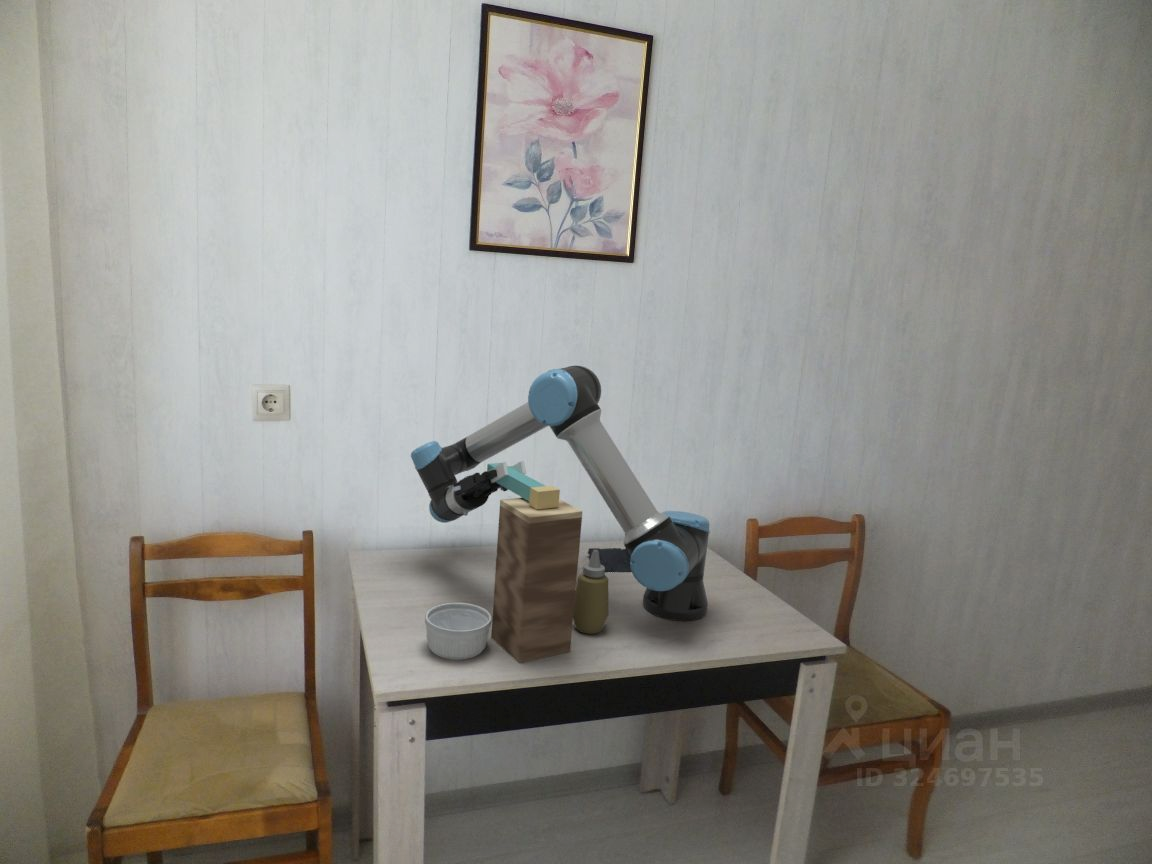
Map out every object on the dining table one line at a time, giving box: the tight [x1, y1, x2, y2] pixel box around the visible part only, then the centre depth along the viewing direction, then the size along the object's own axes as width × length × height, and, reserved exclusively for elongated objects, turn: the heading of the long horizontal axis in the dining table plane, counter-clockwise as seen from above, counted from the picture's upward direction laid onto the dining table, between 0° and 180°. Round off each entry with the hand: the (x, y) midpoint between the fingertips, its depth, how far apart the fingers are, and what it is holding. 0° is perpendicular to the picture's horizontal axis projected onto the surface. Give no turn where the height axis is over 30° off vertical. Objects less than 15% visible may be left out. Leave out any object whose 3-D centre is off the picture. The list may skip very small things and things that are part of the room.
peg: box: [486, 462, 561, 509], centre depth 174 cm, size 23×5×4 cm, turn 33°
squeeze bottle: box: [573, 550, 610, 635], centre depth 181 cm, size 8×8×18 cm
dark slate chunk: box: [587, 544, 632, 573], centre depth 225 cm, size 15×22×5 cm
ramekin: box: [424, 602, 492, 661], centre depth 169 cm, size 13×13×7 cm
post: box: [490, 497, 583, 664], centre depth 170 cm, size 12×12×30 cm
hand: (514, 468), depth 176 cm, fingers closed on peg, 4 cm apart
